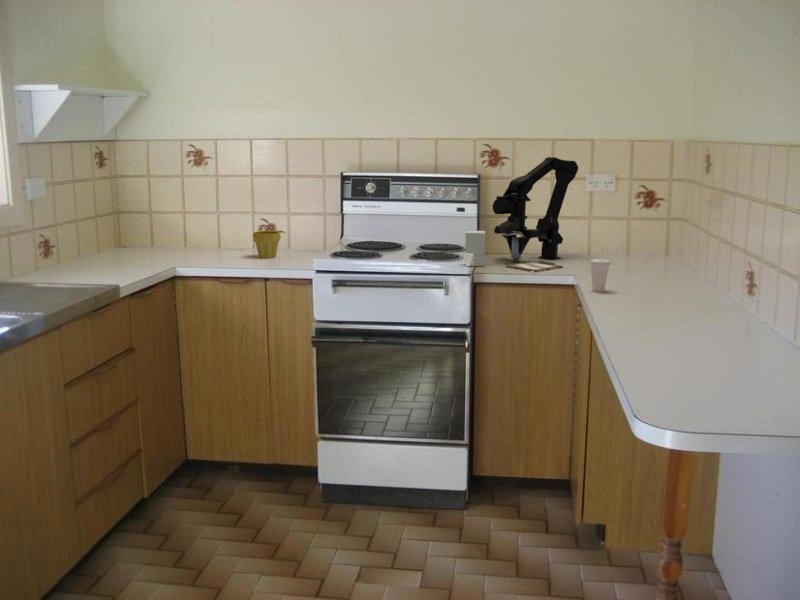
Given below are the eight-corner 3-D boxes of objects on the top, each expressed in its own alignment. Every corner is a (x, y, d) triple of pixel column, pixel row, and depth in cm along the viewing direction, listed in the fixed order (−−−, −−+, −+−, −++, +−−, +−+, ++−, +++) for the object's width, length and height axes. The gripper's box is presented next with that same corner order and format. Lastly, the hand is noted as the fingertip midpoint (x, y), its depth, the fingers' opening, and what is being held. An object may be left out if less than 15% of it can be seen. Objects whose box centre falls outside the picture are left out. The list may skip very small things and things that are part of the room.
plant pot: (259, 259, 319) (258, 234, 317) (250, 256, 328) (249, 231, 326) (284, 258, 324) (284, 233, 322) (274, 254, 333) (274, 229, 331)
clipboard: (533, 262, 319) (533, 259, 319) (562, 267, 309) (563, 264, 309) (505, 267, 308) (505, 263, 308) (535, 272, 298) (535, 268, 298)
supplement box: (484, 263, 316) (485, 230, 314) (484, 266, 309) (485, 232, 306) (465, 263, 317) (465, 230, 314) (464, 266, 310) (465, 232, 307)
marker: (515, 260, 324) (516, 236, 322) (522, 261, 321) (523, 237, 319) (508, 261, 321) (509, 237, 319) (516, 262, 319) (517, 238, 317)
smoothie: (597, 293, 262) (599, 249, 259) (583, 289, 268) (586, 246, 265) (612, 291, 265) (615, 247, 262) (599, 288, 271) (602, 245, 268)
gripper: (485, 212, 319) (484, 252, 322) (523, 216, 305) (521, 258, 309) (504, 210, 326) (503, 250, 329) (542, 214, 313) (540, 256, 316)
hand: (516, 253), depth 321 cm, fingers closed on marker, 4 cm apart
